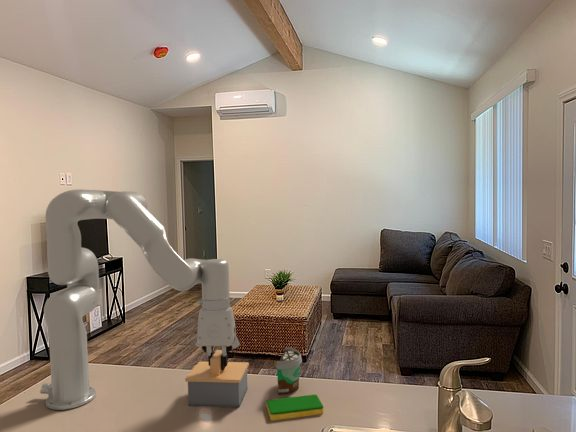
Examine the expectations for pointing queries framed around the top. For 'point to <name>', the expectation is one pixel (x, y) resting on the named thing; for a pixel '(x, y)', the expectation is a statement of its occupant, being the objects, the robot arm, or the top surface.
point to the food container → (288, 371)
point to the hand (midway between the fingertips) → (218, 367)
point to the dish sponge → (294, 407)
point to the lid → (217, 371)
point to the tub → (217, 393)
